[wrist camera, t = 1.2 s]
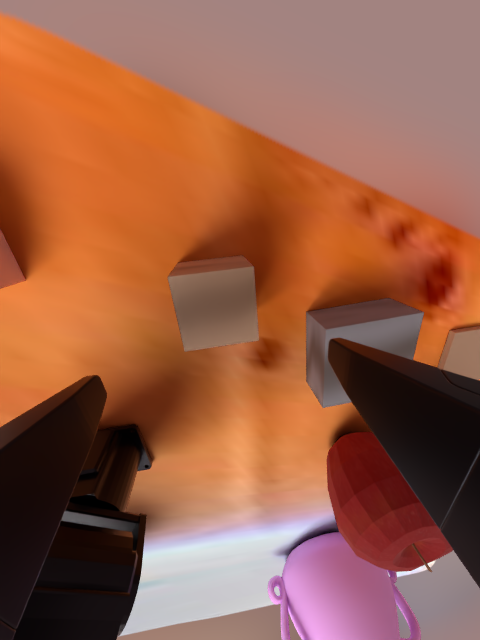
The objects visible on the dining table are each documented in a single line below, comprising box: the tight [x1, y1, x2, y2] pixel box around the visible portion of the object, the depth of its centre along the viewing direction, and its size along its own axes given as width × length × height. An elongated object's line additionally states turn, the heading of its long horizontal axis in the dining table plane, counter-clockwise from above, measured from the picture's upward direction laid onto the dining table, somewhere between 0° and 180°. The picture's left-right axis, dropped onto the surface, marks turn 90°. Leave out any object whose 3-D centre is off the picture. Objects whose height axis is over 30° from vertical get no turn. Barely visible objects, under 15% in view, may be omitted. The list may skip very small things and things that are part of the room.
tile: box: [438, 326, 480, 380], centre depth 25 cm, size 7×7×1 cm
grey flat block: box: [306, 298, 424, 408], centre depth 21 cm, size 8×8×4 cm
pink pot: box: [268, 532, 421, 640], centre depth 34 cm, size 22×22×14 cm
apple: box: [327, 432, 453, 572], centre depth 23 cm, size 11×11×12 cm
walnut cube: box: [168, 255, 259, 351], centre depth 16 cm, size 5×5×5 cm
